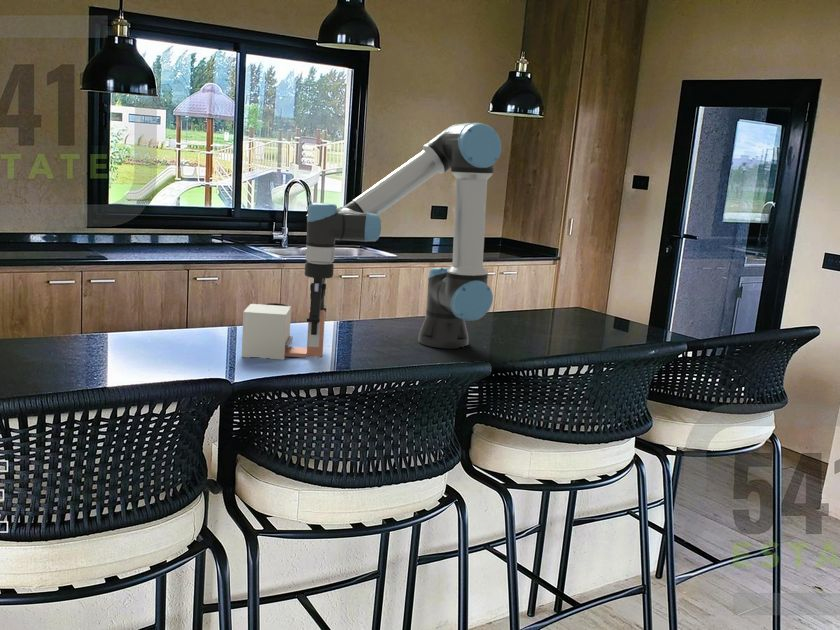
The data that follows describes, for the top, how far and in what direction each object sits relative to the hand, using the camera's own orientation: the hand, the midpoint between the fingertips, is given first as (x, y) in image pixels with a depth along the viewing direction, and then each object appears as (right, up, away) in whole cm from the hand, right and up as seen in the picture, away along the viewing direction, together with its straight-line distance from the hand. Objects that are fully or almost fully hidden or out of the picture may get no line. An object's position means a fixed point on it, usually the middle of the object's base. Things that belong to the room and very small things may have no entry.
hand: (315, 341), depth 226 cm
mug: (-14, 0, +18) cm, 22 cm away
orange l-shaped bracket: (-8, -4, 0) cm, 9 cm away
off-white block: (-13, -3, 0) cm, 14 cm away
